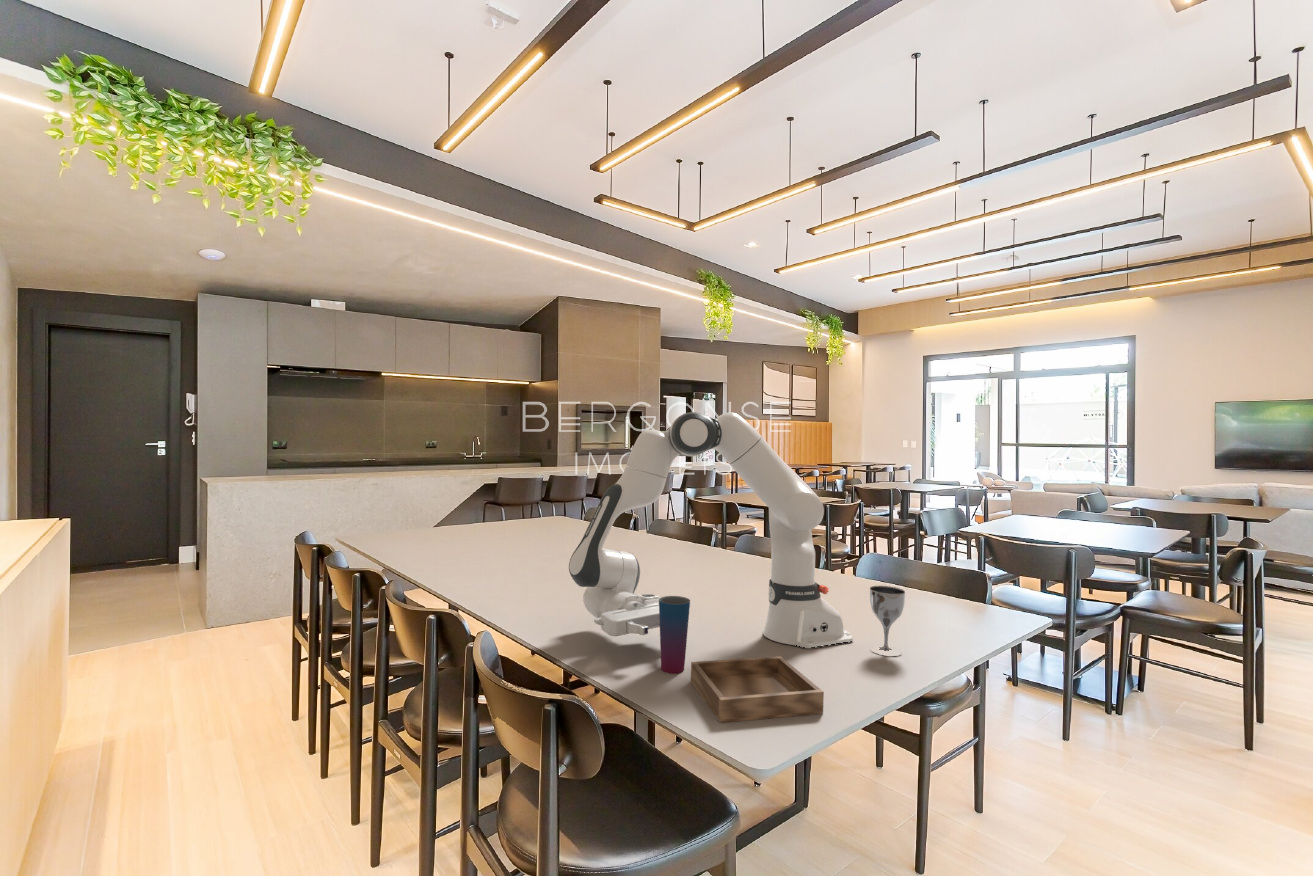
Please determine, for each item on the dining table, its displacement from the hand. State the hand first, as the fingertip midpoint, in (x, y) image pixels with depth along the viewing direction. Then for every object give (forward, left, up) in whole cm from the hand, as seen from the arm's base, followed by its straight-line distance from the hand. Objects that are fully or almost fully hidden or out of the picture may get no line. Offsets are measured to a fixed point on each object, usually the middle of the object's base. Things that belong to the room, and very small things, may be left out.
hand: (662, 627), depth 129 cm
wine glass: (-56, +2, -8) cm, 56 cm away
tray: (-14, +20, -8) cm, 25 cm away
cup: (-2, +4, -8) cm, 9 cm away
